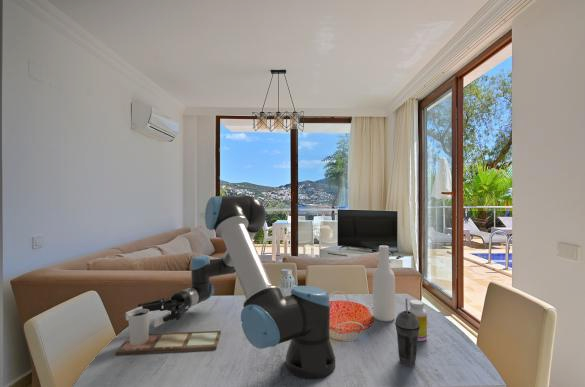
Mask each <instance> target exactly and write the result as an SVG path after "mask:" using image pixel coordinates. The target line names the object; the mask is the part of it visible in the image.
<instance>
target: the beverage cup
mask: <svg viewBox="0 0 585 387" xmlns="http://www.w3.org/2000/svg"><path fill="white" fill-rule="evenodd" d="M408 308H409V307H408V298H405V310H404V311H401V312H399V313H398V314H397V315H396V316H395V322H394V324H395V330H396V338H397V347H398V348H397V349H398V351H397V352H398V357H399V358H398V359H399V363H400V364H401V365H402V366H403V365H404V366H405V367H412V366H415V365H416V359H417V351H418V350H417V349H418V341H417V339H418V333H419V328H420V325H419V321H418V318H417V317H416V316H415V315H414V314H413V313H412V312H409V311H408Z"/></svg>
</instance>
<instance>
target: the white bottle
mask: <svg viewBox="0 0 585 387" xmlns="http://www.w3.org/2000/svg"><path fill="white" fill-rule="evenodd" d="M389 247H390V246H388V245H386V244H385V245H383V244H382V245H379V246H378V260H377V261H378V262H377V268H375V270H374V271H373V274H372V316H373V317H374V319H375V320H376V321H380V322H385V323H386V322H389V323H390V322H392V321H393V320H395V319H396V276H395V273H394V271H393V270H392V269H391V266H390V254H389V250H390V249H389Z"/></svg>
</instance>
